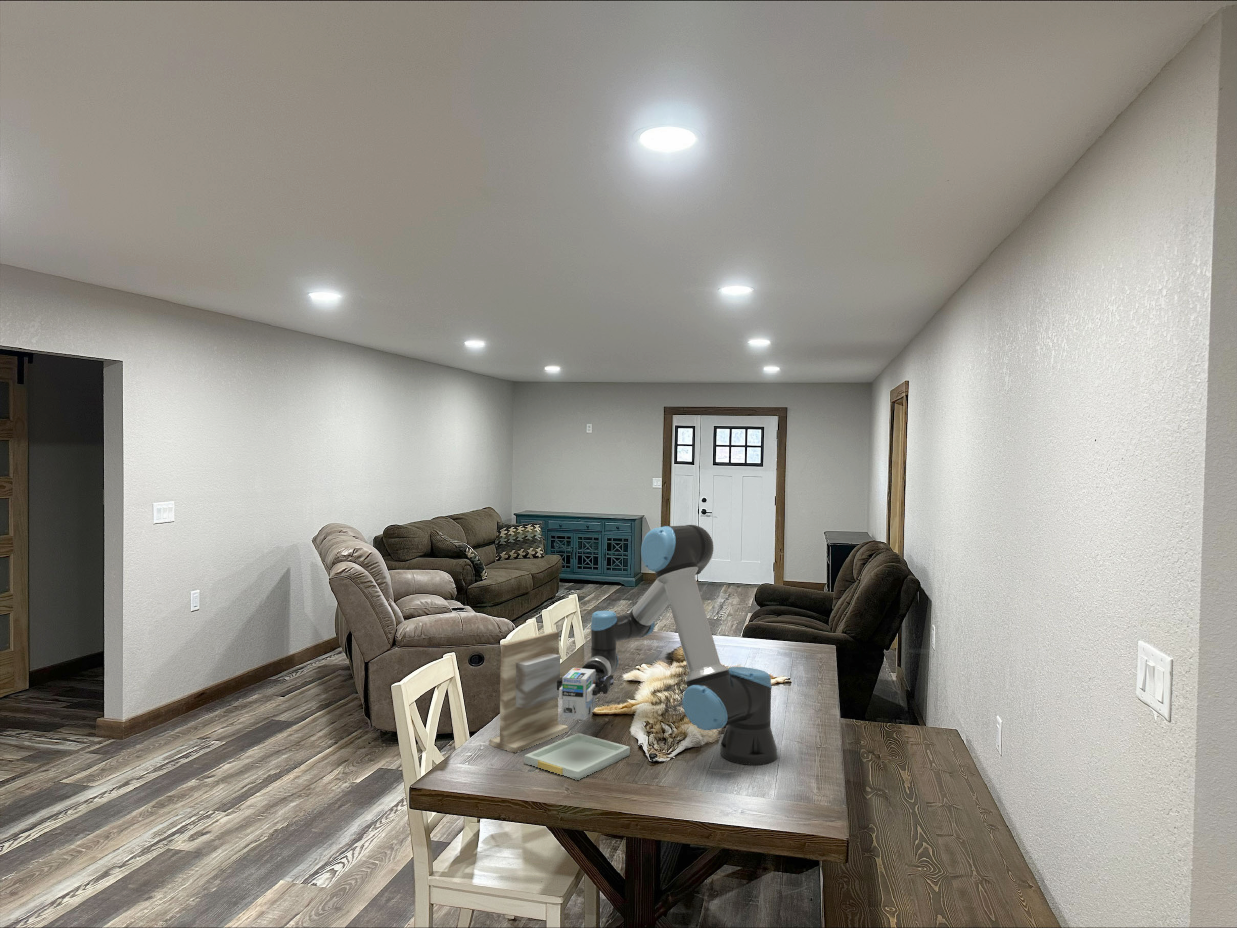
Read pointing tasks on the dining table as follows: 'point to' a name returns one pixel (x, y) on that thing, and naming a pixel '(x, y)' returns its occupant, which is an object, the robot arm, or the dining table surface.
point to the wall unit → (529, 692)
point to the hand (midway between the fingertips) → (574, 695)
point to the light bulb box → (577, 693)
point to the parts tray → (577, 756)
